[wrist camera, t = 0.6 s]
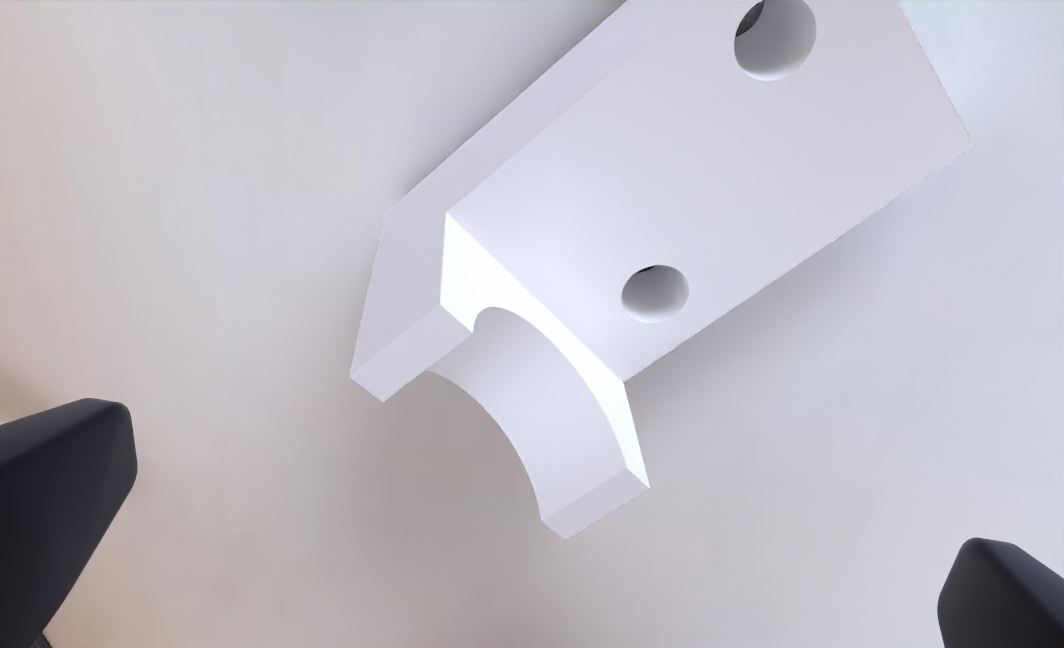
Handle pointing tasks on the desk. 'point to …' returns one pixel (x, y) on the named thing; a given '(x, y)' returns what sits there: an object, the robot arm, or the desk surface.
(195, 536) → the desk surface
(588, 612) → the desk surface
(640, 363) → the bracket
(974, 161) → the desk surface
